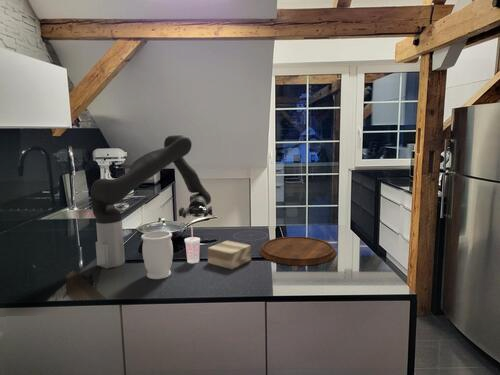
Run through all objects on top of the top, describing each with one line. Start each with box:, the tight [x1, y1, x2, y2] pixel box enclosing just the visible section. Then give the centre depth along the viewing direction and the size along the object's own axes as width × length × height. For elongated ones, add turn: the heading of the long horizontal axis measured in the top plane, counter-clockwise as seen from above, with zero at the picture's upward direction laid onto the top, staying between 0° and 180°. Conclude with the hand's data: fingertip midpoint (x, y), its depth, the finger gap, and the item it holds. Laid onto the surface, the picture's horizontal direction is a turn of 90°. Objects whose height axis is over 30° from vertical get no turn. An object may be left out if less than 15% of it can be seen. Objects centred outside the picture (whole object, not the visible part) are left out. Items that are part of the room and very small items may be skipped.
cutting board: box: [258, 236, 337, 266], centre depth 156 cm, size 32×32×3 cm
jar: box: [141, 230, 174, 280], centre depth 132 cm, size 11×10×15 cm
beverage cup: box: [184, 226, 201, 264], centre depth 146 cm, size 6×6×14 cm
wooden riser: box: [207, 239, 252, 270], centre depth 145 cm, size 12×12×6 cm
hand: (194, 215), depth 155 cm, fingers open, 8 cm apart
